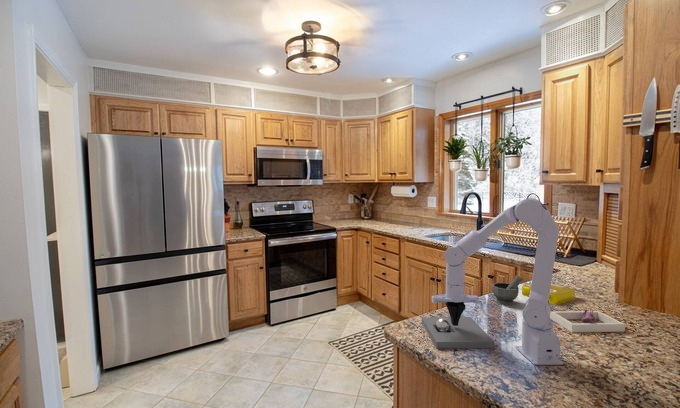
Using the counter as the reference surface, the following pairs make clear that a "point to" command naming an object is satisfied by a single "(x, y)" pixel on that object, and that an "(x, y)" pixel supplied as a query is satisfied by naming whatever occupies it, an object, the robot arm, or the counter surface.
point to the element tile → (554, 293)
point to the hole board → (457, 334)
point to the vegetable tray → (607, 326)
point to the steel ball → (442, 324)
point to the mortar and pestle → (506, 291)
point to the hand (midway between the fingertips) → (454, 324)
